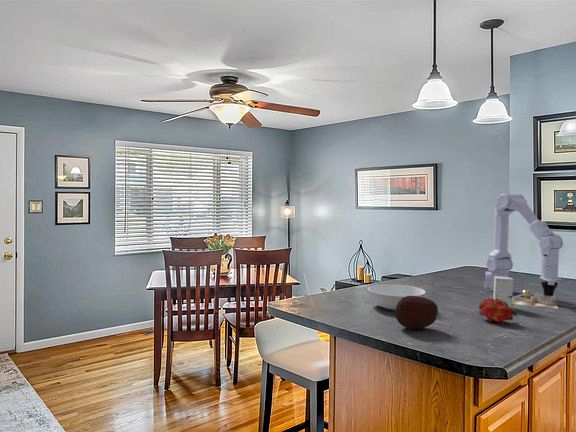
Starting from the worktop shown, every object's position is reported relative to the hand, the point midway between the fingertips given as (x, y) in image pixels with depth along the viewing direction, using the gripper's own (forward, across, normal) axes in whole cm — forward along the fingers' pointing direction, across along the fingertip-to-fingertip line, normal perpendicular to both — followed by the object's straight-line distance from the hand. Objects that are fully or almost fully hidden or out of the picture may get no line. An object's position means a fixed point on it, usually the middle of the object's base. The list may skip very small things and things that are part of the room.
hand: (548, 300), depth 174 cm
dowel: (+1, -7, +6) cm, 9 cm away
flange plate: (+1, 0, +5) cm, 5 cm away
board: (+2, -1, +6) cm, 6 cm away
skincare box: (+2, -18, +16) cm, 24 cm away
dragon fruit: (+2, -37, +18) cm, 41 cm away
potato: (+2, -59, +42) cm, 72 cm away
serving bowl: (+2, -34, +52) cm, 63 cm away
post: (+1, +1, +8) cm, 8 cm away
